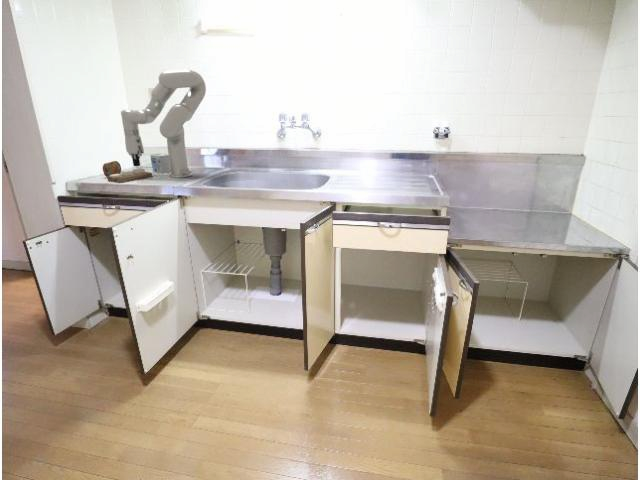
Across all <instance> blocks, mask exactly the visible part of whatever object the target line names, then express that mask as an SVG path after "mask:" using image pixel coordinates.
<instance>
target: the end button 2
mask: <svg viewBox="0 0 640 480" xmlns="http://www.w3.org/2000/svg"><path fill="white" fill-rule="evenodd" d="M132 171H133V173H144V172H146V171H145V168H142V167H141V168H140V167H138V168H133V169H132Z"/></svg>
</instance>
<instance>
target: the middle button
mask: <svg viewBox="0 0 640 480" xmlns="http://www.w3.org/2000/svg"><path fill="white" fill-rule="evenodd" d="M121 174H122V175H132V174H134V173H133V169H131V170H130V169H126V170H121Z"/></svg>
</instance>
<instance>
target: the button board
mask: <svg viewBox="0 0 640 480" xmlns="http://www.w3.org/2000/svg"><path fill="white" fill-rule="evenodd" d="M121 175H122V173H121ZM106 178H107V182H110V181H111V182H110V183H116V182H117V184H121V183H127V182H133V181H134V182H135V181H139V180H144V179H149V178H150V179H151V178H153V173H152V172H147V171H145V172H144V173H134V174H132V175H122V176H120V177H110V176H108V177H106Z"/></svg>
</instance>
